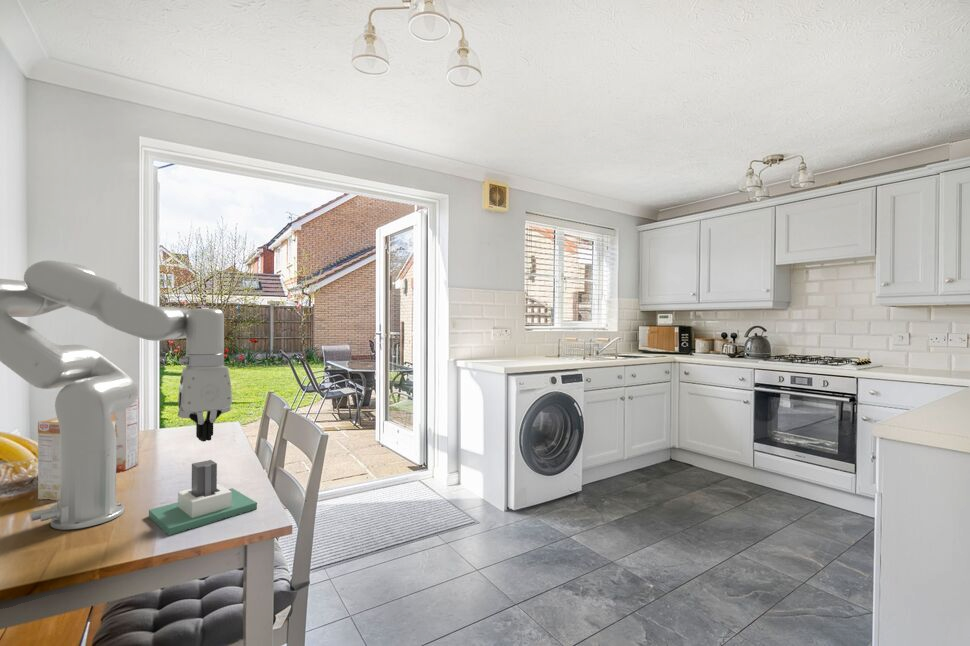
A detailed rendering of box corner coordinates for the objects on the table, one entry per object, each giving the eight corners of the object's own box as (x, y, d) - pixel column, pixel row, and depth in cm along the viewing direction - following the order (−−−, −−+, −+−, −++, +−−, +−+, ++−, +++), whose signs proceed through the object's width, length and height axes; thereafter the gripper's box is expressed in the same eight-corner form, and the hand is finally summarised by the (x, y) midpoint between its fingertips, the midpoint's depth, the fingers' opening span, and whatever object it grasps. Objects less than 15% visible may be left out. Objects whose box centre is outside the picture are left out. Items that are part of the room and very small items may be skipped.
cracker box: (75, 471, 134) (75, 400, 134) (92, 465, 140) (92, 396, 140) (124, 471, 135) (124, 400, 134) (139, 465, 141) (139, 396, 140)
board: (169, 535, 96) (169, 528, 96) (148, 516, 105) (148, 509, 105) (256, 508, 110) (256, 502, 110) (232, 493, 119) (232, 488, 119)
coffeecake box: (93, 478, 129) (94, 409, 128) (116, 480, 128) (117, 410, 128) (35, 499, 114) (36, 420, 114) (61, 501, 113) (61, 422, 113)
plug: (198, 512, 104) (198, 468, 104) (191, 506, 107) (191, 463, 107) (217, 506, 107) (217, 464, 107) (210, 501, 110) (210, 459, 110)
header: (192, 518, 101) (192, 502, 101) (177, 506, 107) (178, 491, 107) (231, 506, 108) (231, 491, 108) (216, 496, 113) (216, 482, 113)
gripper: (173, 364, 99) (172, 449, 99) (245, 360, 111) (245, 436, 111) (162, 362, 104) (161, 443, 104) (232, 358, 115) (232, 431, 116)
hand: (204, 439), depth 107 cm, fingers closed
